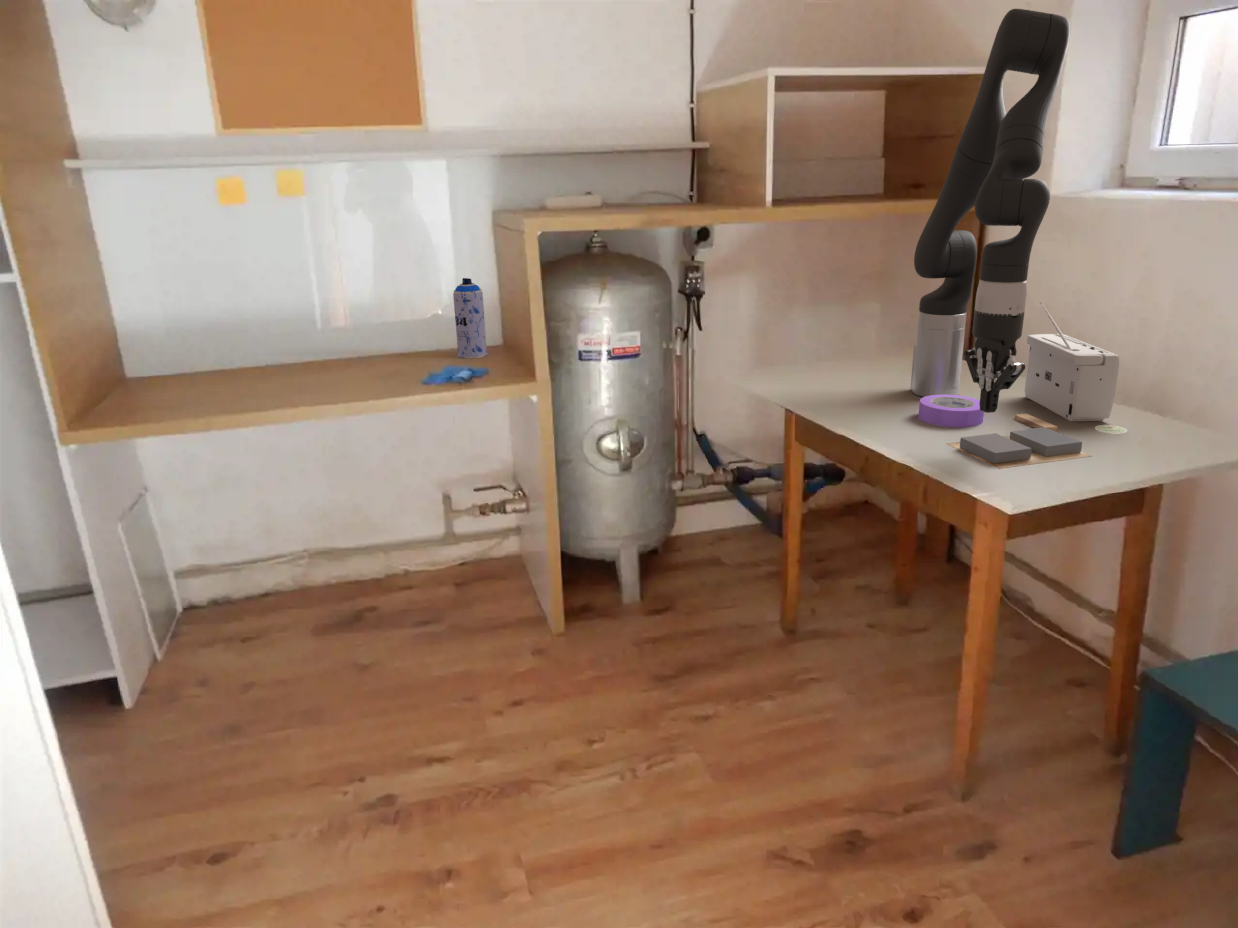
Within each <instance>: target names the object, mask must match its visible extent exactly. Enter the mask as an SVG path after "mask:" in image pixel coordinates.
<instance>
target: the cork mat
mask: <svg viewBox="0 0 1238 928" xmlns="http://www.w3.org/2000/svg"><path fill="white" fill-rule="evenodd" d="M1002 436H1003V437H1006V438H1008V439H1010V435H1002ZM946 445H948V446H951V447H953V448H955V449H956V450H959V451H961V452H962V453H966V454H967V455H970V456H972V457H974V458H976V459H978V460H981V461H983V462H984V463H986V464H989V465H991V466H992V467H995V468H998V469H1000V470H1001V469H1008V468H1015V467H1022V466H1023V467H1024V466H1030V465H1037V464H1044V463H1051V462H1058V461H1060V462H1061V461H1066V460H1067V461H1068V460H1074V459H1082V458H1090V457H1092V455H1091V454H1088V453H1085V452H1083V451H1081V452H1078V453H1071V454H1063V455H1055V456H1048V457H1045V456H1043V455H1040V454H1038V453H1036V452H1033V451H1031V458H1030V459H1025V460H1018V461H1010V462H1003V463H995V464H994V463H991V462H989V461H987V460H985V459H983V458H981V457H979V456H977V455H974V454H972V453H970V452H968V451H966V450H964V449H962V448H960V441H956V442H948V443H946Z"/></svg>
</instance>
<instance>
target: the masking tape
mask: <svg viewBox="0 0 1238 928" xmlns="http://www.w3.org/2000/svg"><path fill="white" fill-rule="evenodd" d="M979 403H980V399H977V398H973V397H970V396H963V395H959V394H958V395H930V396H926V397H923V396H922V397H921V398H920V400H919V406H918V414H917V415H918V416H917V418H918V419H919V420H920V421H922V422H924V423H927V424H930V425H934V426H938V427H946V428H969V427H976V426H979V425H981V424H983V422H984V417H985V416H984V415H985V412H983V411H981V410H980V404H979Z"/></svg>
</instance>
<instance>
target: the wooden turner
mask: <svg viewBox="0 0 1238 928" xmlns="http://www.w3.org/2000/svg"><path fill="white" fill-rule="evenodd" d="M1013 418H1014V420H1015V421H1017V422H1020V423H1022V424H1024V425H1027V426H1028V427H1031V428H1032V429H1034V428H1042V427H1045V428H1048V429H1050V430H1053V431H1055V432H1058V426H1057V425H1055V424H1052V423H1050V422H1047V421H1046V420H1043V419H1040V418H1038V417H1036V416H1033V415H1031V414H1028V413H1017V414H1014V416H1013Z"/></svg>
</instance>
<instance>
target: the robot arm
mask: <svg viewBox="0 0 1238 928" xmlns="http://www.w3.org/2000/svg"><path fill="white" fill-rule="evenodd" d="M1070 38H1071V24H1070V20H1069V19H1068V18H1067V17H1066V16H1063V15H1060V14H1054V13H1049V12H1044V11H1043V12H1042V11H1036V10H1029V9H1024V8H1012V9H1010V10H1008V11H1007V12H1006V14H1005V15H1004V17H1003V18H1002V20H1001V22H1000V24H999V27H998V29H997V31H996V34H995V38H994V41H993V43H992V47H991V50H990V53H989V56H988V60H987V62H986V65H985V66H986V67H985V68H984V69H985V70H984V72H983V76H982V80H981V83H980V86H979V89H978V91H977V95H976V97H975V98H976V99H975V101H974V103H973V107H972V109H971V112H970V114H969V117H968V119H967V122H966V124H965V126H964V129H963V131H962V134H961V137H960V138H959V140H958V144H957V147H956V149H955V152H954V154H953V157H952V160H951V161H950V162H951V163H950V166H949V169H948V172H947V175H946V177H945V180H944V183H943V186H942V188H941V191H940V193H939V195H938V198H937V201H936V203H935V205H934V208H933V209H932V211H931V213H930V216H929V217H928V220H927V222H926V224H925V226H924V227H923V230H922V232H921V233H920V236H919V239H918V241H917V244H916V248H915V251H914V255H913V256H914V257H913V263H914V264H913V266H914V270H915V272H916V274H917V275H918V276H919V277H921V278H924V279H944V281H943V283H942V284H941V285H940V286H939V287H938V288H935V290H933V291H931V292H929V293H927V294H924V295H923V296H922V297H921V298H920V300H919V308H918V319H917V320H918V321H917V334H916V343H915V345H914V346H913V353H912V364H911V365H912V366H911V377H910V378H911V379H910V390H912V393H913V394H914V395H917V396H919V397H922V398H923V397H926V396H930V395H958V396H959V393H960V392H959V389H960V382H961V381H960V380H961V372H962V363H963V355H964V358H965V361H966V364H967V367H968V370H969V374H970V376H971V379H972V382H973V383H976V384H977V385H978V388H979V389H980V394H979V395H980V396H979V400H980V403H979V404H980V410H981V411H983V412H984V413H986V414H987V413H988V414H989V413H995V412H996V411H997V409H998V406H999V405H998V404H999V398H1000V397H999V396H1000V392H1001V391H1002V390H1009V389H1010V388H1011V387H1012V386H1013V384H1014V383H1015V382H1016V380H1017V379H1018V378H1020V376H1021V374H1022V373H1024V371H1025V369H1026V365H1025V363H1024V362H1021V363H1020V362H1019V360H1018V358H1017V357H1016V356H1017V346H1016V343H1017V341H1018V340H1019V339H1020V338H1022V335H1023V328H1024V319H1025V311H1026V305H1027V303H1026V302H1027V297H1028V296H1027V294H1028V292H1027V289H1028V287H1027V284H1028V283H1027V281H1028V280H1027V279H1028V275H1029V266H1030V258H1031V253H1032V248H1033V246H1034V241H1035V240H1036V236H1037V235H1038V230H1039V228H1040V227H1041V225H1042V221H1043V219H1044V217H1045V215H1046V213H1047V210H1048V207H1049V204H1050V200H1051V193H1050V189H1049V187H1048V184H1047V183H1046V182H1045V181H1044V180H1042V179H1038V178H1030V177H1031V176H1033V175H1035V174H1036V173H1037V172H1038V171H1039V169H1040V167H1041V165H1042V159H1043V154H1044V152H1043V151H1044V146H1045V138H1046V129H1047V124H1048V118H1049V115H1050V112H1051V109H1052V105H1053V101H1054V98H1055V96H1056V95H1055V94H1056V92H1057V88H1058V85H1059V82H1060V77H1061V74H1062V71H1063V66H1064V63H1065V59H1066V56H1067V52H1068V50H1069V49H1068V48H1069V43H1070ZM1008 71H1013V72H1019V73H1024V74H1029V75H1035V76H1038V78H1037V79H1036V82H1035V83H1034V84H1033V86H1032V87H1031V88H1030V89H1029V91H1028V92H1027V93H1025V95H1023V97H1022V98H1020V99H1019V100H1018V101H1017V102H1016V103H1015V104H1014V105H1013V106H1011V108H1010V109H1009V110H1008V111H1007V112H1006V107H1005V102H1004V100H1005V99H1004V93H1003V84H1004V78H1005V74H1006V73H1007V72H1008ZM973 208H974V214H975V216H976V218H977V220H978V221H979V223H981V224H982V225H984V226H990V227H991V226H992V227H994V226H995V227H997V226H998V227H999V226H1000V227H1007V226H1008V227H1017V226H1018V227H1020V230H1019V232H1018V233H1017V234H1016V235H1015V236H1013V237H1011V238H1007V239H1002V240H997V241H992V242H991V241H990V242H989V243H987V244H986V245H984V247H983V249H982V254H981V260H980V261H981V264H980V271H979V281H978V285H977V290H976V295H975V301H974V302H975V303H974V313H973V324H972V330H971V331H972V332H971V333H972V336H973V337H974V338H976V339H975V341H974V346H973V348H971V349H967V350H964V343H965V333H966V321H967V313H968V312H967V311H968V305H969V302H970V301H971V297H972V292H973V285H974V278H975V271H976V266H977V261H978V260H977V257H978V246H977V245H978V244H977V240H976V237H975V236H974V235H973V233H972V232H971V231H969V230H965V229H963V230H961V229H958V230H955V229H956V228H957V226H958V224H959V222H960V221H962V219H963V218H964V217H965V215H967V213H969V212H970V211H971V210H972V209H973Z"/></svg>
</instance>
